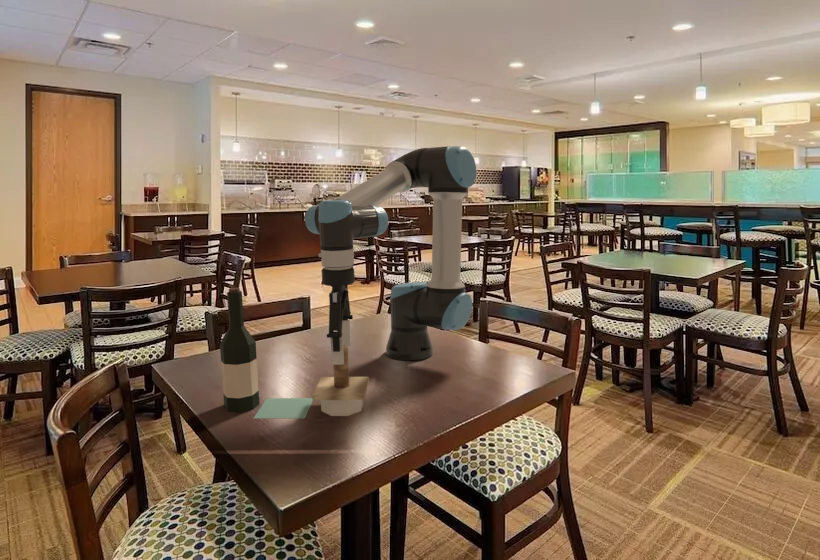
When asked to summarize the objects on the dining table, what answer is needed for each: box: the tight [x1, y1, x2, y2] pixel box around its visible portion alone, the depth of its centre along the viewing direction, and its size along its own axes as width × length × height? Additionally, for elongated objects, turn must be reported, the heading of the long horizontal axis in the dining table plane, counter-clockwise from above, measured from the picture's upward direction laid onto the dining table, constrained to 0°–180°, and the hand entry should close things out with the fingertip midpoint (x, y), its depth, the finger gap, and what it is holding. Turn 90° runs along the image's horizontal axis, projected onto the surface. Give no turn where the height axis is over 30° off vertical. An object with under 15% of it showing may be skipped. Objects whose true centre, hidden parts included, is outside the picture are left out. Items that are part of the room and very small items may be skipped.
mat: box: [253, 397, 314, 420], centre depth 131 cm, size 12×12×1 cm
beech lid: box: [311, 346, 370, 401], centre depth 129 cm, size 12×12×11 cm
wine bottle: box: [219, 287, 260, 414], centre depth 130 cm, size 8×8×30 cm
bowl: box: [320, 400, 364, 417], centre depth 130 cm, size 10×10×5 cm
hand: (341, 354), depth 129 cm, fingers open, 13 cm apart
